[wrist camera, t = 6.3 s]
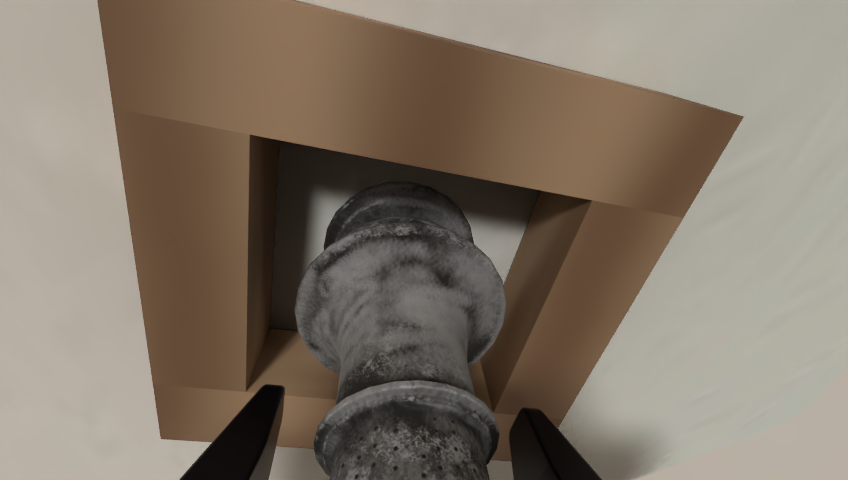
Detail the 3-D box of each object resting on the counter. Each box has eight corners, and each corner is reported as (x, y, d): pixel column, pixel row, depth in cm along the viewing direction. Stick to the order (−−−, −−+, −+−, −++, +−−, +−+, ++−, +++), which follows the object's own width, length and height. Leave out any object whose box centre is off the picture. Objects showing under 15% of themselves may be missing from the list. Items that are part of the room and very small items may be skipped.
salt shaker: (317, 162, 12) (-58, 941, 2) (498, 183, 13) (899, 814, 3) (314, 310, 15) (152, 949, 5) (463, 319, 16) (600, 885, 6)
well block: (668, 94, 12) (743, 116, 10) (516, 400, 19) (536, 463, 16) (170, -32, 10) (90, -47, 7) (197, 371, 16) (160, 439, 14)
